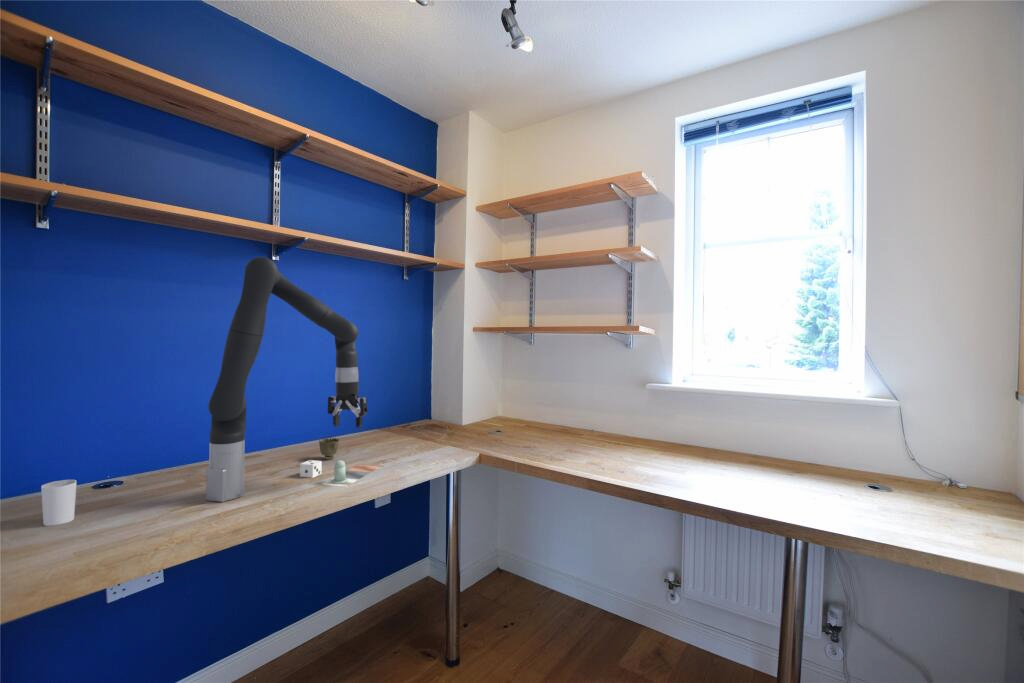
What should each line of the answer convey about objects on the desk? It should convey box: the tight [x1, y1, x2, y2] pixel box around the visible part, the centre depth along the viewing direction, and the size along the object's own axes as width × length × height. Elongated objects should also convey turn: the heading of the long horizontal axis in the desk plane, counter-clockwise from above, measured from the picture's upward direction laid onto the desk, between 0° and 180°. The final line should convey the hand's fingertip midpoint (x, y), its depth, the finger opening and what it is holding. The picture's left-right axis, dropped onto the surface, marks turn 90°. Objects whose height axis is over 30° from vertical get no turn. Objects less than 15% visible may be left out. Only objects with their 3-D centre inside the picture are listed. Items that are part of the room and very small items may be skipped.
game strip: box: [321, 463, 385, 488], centre depth 161 cm, size 25×11×1 cm, turn 168°
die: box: [299, 459, 323, 479], centre depth 159 cm, size 5×5×5 cm
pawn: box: [332, 459, 349, 484], centre depth 153 cm, size 5×5×7 cm
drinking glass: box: [40, 479, 78, 527], centre depth 118 cm, size 7×7×10 cm
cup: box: [318, 437, 340, 461], centre depth 181 cm, size 8×7×8 cm
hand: (347, 426), depth 155 cm, fingers open, 8 cm apart
